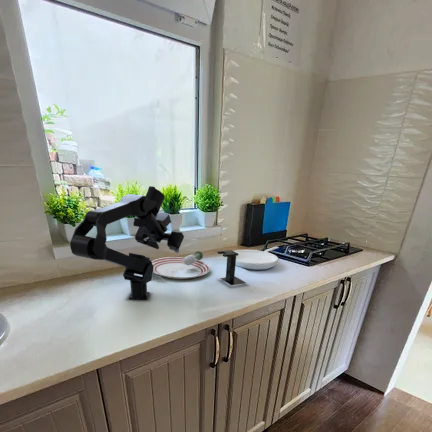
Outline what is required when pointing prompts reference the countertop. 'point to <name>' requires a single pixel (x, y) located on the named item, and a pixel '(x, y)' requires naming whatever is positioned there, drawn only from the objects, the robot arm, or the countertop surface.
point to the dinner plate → (177, 267)
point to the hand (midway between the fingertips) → (168, 250)
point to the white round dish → (256, 259)
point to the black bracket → (230, 267)
